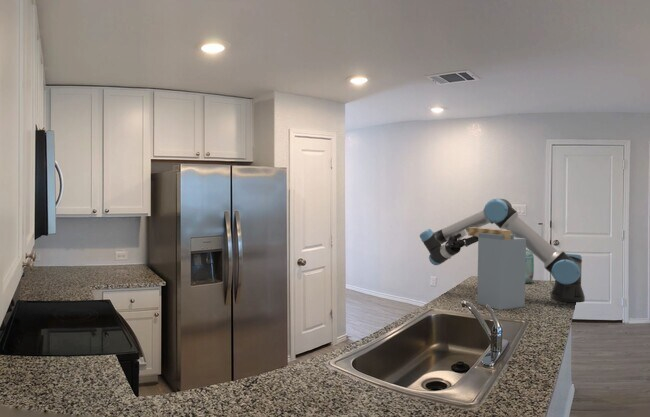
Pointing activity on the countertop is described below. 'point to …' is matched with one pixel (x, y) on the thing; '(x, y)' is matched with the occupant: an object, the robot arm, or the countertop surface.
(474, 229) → the oak block
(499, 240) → the stand
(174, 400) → the countertop surface
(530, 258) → the lunch box
